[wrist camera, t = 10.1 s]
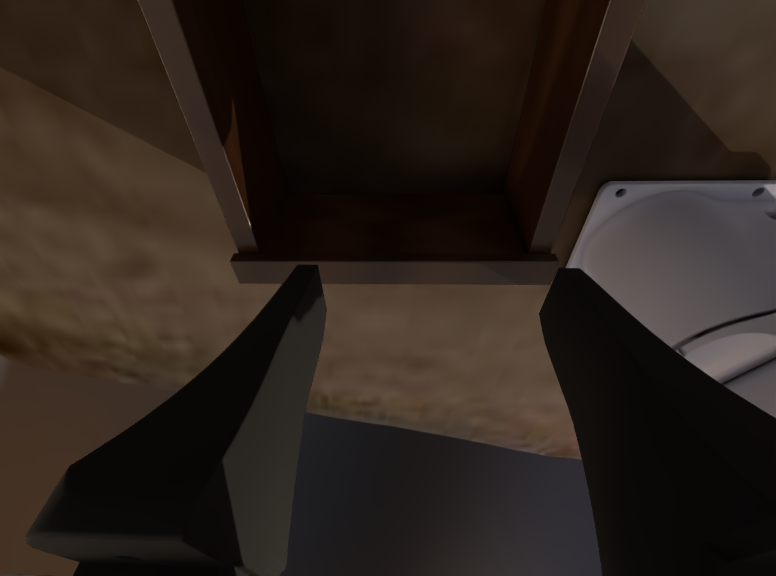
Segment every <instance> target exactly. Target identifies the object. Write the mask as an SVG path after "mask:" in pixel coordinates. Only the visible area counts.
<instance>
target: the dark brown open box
mask: <svg viewBox="0 0 776 576" xmlns="http://www.w3.org/2000/svg"><path fill="white" fill-rule="evenodd" d="M645 2H646V0H547V1H546V6H545V10H544V15H543V19H542V24H541V28H540V32H539V37H538V41H537V46H536V50H535V55H534V59H533V63H532V68H531V72H530V77H529V81H528V86H527V90H526V95H525V99H524V103H523V108H522V112H521V117H520V121H519V126H518V130H517V134H516V139H515V143H514V148H513V152H512V157H511V161H510V165H509V170H508V174H507V179H506V183H505V188H504V192H503V193H428V194H288V193H287V189H286V185H285V180H284V176H283V172H282V168H281V164H280V160H279V156H278V152H277V147H276V143H275V139H274V135H273V131H272V127H271V123H270V118H269V114H268V110H267V106H266V102H265V98H264V94H263V90H262V85H261V81H260V77H259V73H258V69H257V65H256V61H255V56H254V52H253V48H252V44H251V40H250V36H249V32H248V28H247V23H246V19H245V15H244V11H243V7H242V3H241V0H138V3H139V5H140V8H141V10H142V13H143V15H144V18H145V20H146V23H147V25H148V28H149V30H150V33H151V35H152V38H153V40H154V43H155V45H156V48H157V50H158V53H159V55H160V58H161V60H162V63H163V65H164V68H165V70H166V73H167V75H168V78H169V80H170V83H171V85H172V88H173V90H174V93H175V95H176V98H177V100H178V103H179V105H180V108H181V110H182V113H183V115H184V118H185V120H186V123H187V125H188V128H189V130H190V133H191V135H192V138H193V140H194V143H195V145H196V148H197V150H198V153H199V155H200V158H201V160H202V163H203V165H204V168H205V170H206V173H207V175H208V178H209V180H210V183H211V185H212V188H213V190H214V193H215V195H216V198H217V200H218V203H219V205H220V208H221V210H222V213H223V215H224V218H225V220H226V223H227V225H228V228H229V230H230V233H231V235H232V238H233V240H234V243H235V245H236V248H237V250H238V253H235V254H233V256H232V258H231V260H230V263H231V265H232V267H233V270H234V272H235V274H236V277H237V279H238V281H239V283H260V284H283V283H284V281H285V280H286V279H287V277H288V276H289V275H290V273H291V272H292V271H293V269H294V268H295V267H296V266H297V265H298V264H303V265H318V268H319V273H320V278H321V283H322V284H485V285H550V284H551V282H552V279H553V277H554V274H555V272H556V269H557V267H558V265H559V260H558V258H557V256H556V254H551V251H552V249H553V246H554V243H555V241H556V238H557V235H558V233H559V230H560V227H561V225H562V222H563V219H564V217H565V214H566V212H567V209H568V206H569V204H570V201H571V198H572V196H573V193H574V190H575V188H576V185H577V182H578V180H579V177H580V174H581V172H582V169H583V166H584V164H585V161H586V159H587V156H588V153H589V151H590V148H591V145H592V143H593V140H594V137H595V135H596V132H597V129H598V127H599V124H600V121H601V119H602V116H603V113H604V111H605V108H606V106H607V103H608V100H609V98H610V95H611V92H612V90H613V87H614V84H615V82H616V79H617V76H618V74H619V71H620V68H621V66H622V63H623V61H624V58H625V55H626V53H627V50H628V47H629V45H630V42H631V39H632V37H633V34H634V31H635V29H636V26H637V23H638V21H639V18H640V15H641V13H642V10H643V8H644V5H645Z"/></svg>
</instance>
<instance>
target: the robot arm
mask: <svg viewBox="0 0 776 576" xmlns="http://www.w3.org/2000/svg"><path fill="white" fill-rule="evenodd" d="M620 189H623V190H622V191H621V192H619V193H617V194H616V192H617V191H618V190H620ZM756 189H757V190H756ZM755 190H756V191H755ZM326 311H327V310H326V305H325V299H324V294H323V289H322V283H321V278H320V273H319V268H318V265H303V264H298V265H297V266H296V267H295V268H294V269H293V271H292V272H291V273H290V275H289V276H288V277H287V279H286V280H285V281H284V283H283V284H282V285H281V287H280V288H279V289H278V291H277V292H276V293H275V294H274V296H273V297H272V298H271V299H270V301H269V302H268V303H267V304H266V305H265V307H264V308H263V309H262V310H261V311H260V313H259V314H258V315H257V316H256V317H255V319H254V320H253V321H252V322H251V323H250V324H249V325H248V326H247V327H246V328H245V330H244V331H243V332H242V333H241V334H240V335H239V336H238V337H237V338H236V339H235V340H234V341H233V342H232V343H231V344H230V345H229V346H228V347H227V349H225V350H224V351H223V352H222V353H221V354H220V355H219V356H218V357H217V358H216V359H215V360H214V361H213V362H212V363H211V364H210V365H209V366H207V367H206V368H205V369H204V370H203V371H202V372H201V373H199V374H198V375H197V376H196V377H195V378H194V379H192V380H191V381H190V382H189V383H188V384H187V385H185V386H184V387H183V388H182V389H181V390H179V391H178V392H177V393H176V394H174V395H173V396H172V397H171V398H169V399H168V400H167V401H165V402H164V403H162V404H161V405H160V406H158V407H157V408H156V409H154V410H153V411H152V412H151V413H149V414H148V415H146V416H145V417H144V418H142V419H141V420H139V421H138V422H137V423H135V424H134V425H132V426H131V427H130V428H128V429H127V430H125V431H124V432H122V433H121V434H119V435H118V436H116V437H115V438H113V439H111V440H110V441H108V442H107V443H105V444H104V445H102V446H101V447H99V448H98V449H96V450H94V451H93V452H91V453H90V454H88V455H87V456H85V457H84V458H82V459H81V460H79V461H77V462H75V463H74V464H72V465H70V466H69V468H68V469H67V471H66V472H65V474H64V475H63V477H62V478H61V480H60V481H59V483H58V485H57V486H56V487H55V489H54V491H53V492H52V494H51V496H50V497H49V499H48V500H47V502H46V504H45V505H44V507H43V509H42V510H41V512H40V513H39V515H38V517H37V518H36V520H35V522H34V523H33V525H32V526H31V528H30V530H29V531H28V533H27V534H26V537H25V540H26V543H27V544H28V545H29V546H31V547H32V548H35V549H38V550H41V551H44V552H47V553H51V554H54V555H58V556H61V557H64V558H68V559H71V560H75V561H78V562H80V563H79V565H78V567H77V569H76V571H75V573H74V575H73V576H278V575H279V574H280V573H281V572H282V571H283V570H284V569H285V567H286V561H287V550H288V539H289V530H290V520H291V510H292V502H293V494H294V485H295V477H296V469H297V462H298V455H299V448H300V441H301V434H302V427H303V421H304V415H305V410H306V405H307V401H308V397H309V393H310V389H311V385H312V381H313V377H314V373H315V370H316V366H317V362H318V358H319V354H320V350H321V345H322V341H323V335H324V328H325V319H326ZM539 316H540V321H541V326H542V331H543V336H544V340H545V344H546V347H547V350H548V353H549V356H550V359H551V361H552V364H553V367H554V370H555V373H556V375H557V378H558V381H559V384H560V386H561V389H562V392H563V395H564V397H565V400H566V403H567V406H568V408H569V411H570V415H571V418H572V421H573V424H574V428H575V432H576V436H577V440H578V444H579V449H580V453H581V457H582V462H583V466H584V471H585V475H586V480H587V485H588V489H589V495H590V500H591V505H592V510H593V516H594V522H595V528H596V534H597V541H598V547H599V554H600V561H601V568H602V576H776V180H724V181H610V182H607V183H605V184H604V185H602V186H601V188H600V189H599V191H598V194H597V196H596V198H595V201H594V203H593V205H592V208H591V210H590V212H589V215H588V217H587V219H586V221H585V224H584V226H583V228H582V231H581V233H580V235H579V238H578V240H577V242H576V245H575V247H574V249H573V252H572V254H571V256H570V259H569V261H568V263H567V266H566V268H559V269H558V271H557V273H556V276H555V278H554V280H553V283H552V285H551V287H550V290H549V292H548V294H547V297H546V299H545V301H544V304H543V306H542V308H541V310H540V313H539ZM1 576H48V575H21V574H3V575H1Z"/></svg>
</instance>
